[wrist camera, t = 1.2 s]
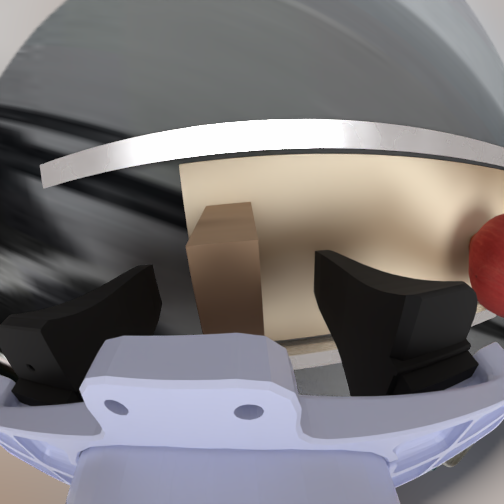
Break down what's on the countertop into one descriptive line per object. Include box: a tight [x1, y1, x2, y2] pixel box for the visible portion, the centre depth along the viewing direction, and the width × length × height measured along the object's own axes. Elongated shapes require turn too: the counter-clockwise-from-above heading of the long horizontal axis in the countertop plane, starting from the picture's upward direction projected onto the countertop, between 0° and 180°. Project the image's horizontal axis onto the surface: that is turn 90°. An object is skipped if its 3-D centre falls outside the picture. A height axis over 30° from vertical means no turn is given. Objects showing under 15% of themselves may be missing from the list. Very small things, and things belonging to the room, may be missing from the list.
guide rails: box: [40, 119, 504, 370], centre depth 13 cm, size 13×30×2 cm, turn 94°
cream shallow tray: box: [179, 153, 504, 341], centre depth 11 cm, size 10×22×6 cm, turn 94°
